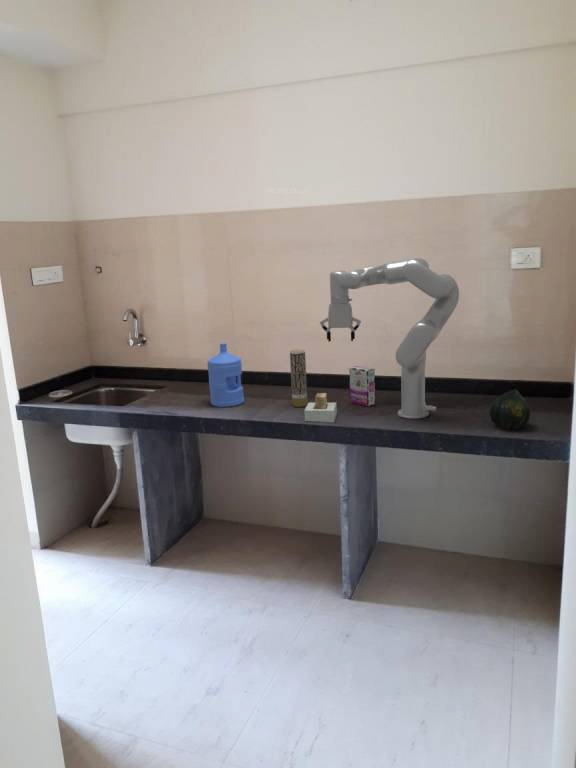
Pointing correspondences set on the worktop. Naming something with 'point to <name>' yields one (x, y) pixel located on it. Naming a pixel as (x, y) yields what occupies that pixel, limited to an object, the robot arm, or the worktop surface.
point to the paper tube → (298, 378)
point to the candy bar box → (362, 386)
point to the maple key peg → (321, 400)
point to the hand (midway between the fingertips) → (340, 340)
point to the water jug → (225, 379)
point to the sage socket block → (321, 413)
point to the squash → (510, 410)
